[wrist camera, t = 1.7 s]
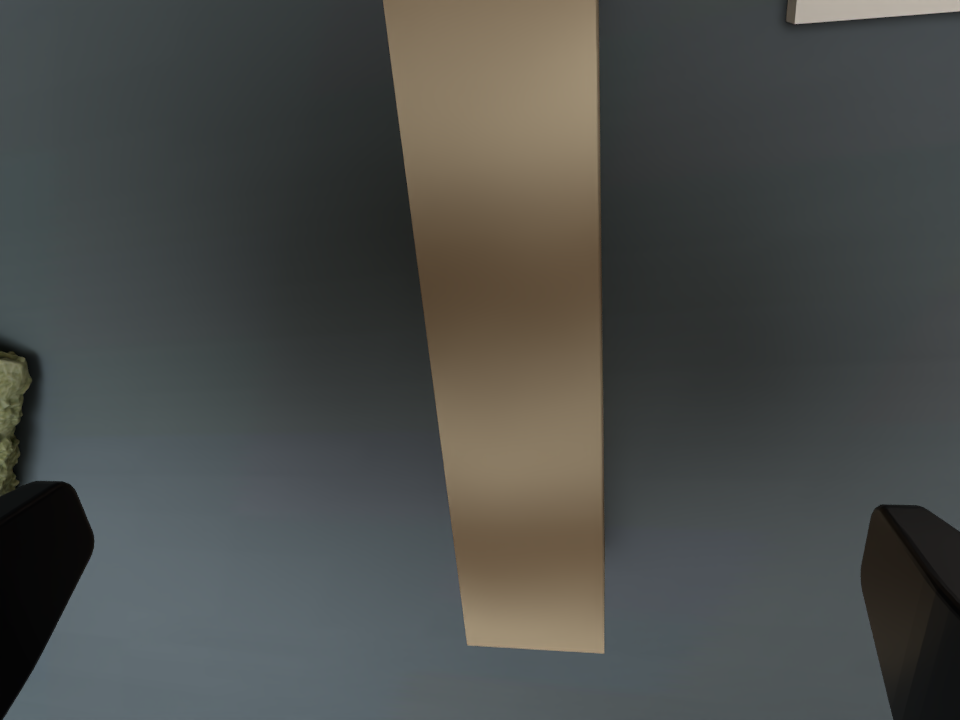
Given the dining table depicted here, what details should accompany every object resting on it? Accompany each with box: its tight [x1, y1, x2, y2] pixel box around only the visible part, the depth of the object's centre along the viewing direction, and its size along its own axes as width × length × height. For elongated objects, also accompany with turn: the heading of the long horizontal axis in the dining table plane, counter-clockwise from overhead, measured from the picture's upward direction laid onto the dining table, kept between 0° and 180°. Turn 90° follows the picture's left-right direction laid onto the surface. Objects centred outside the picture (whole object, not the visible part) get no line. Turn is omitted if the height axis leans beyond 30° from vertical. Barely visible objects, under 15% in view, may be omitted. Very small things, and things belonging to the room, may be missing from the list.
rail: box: [383, 0, 605, 654], centre depth 16 cm, size 20×4×5 cm, turn 5°
